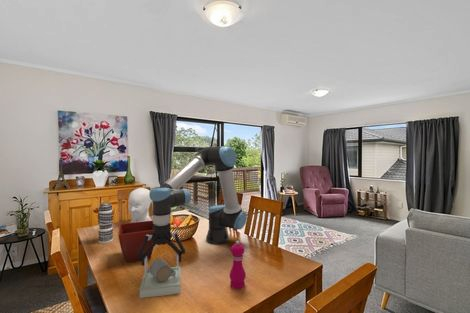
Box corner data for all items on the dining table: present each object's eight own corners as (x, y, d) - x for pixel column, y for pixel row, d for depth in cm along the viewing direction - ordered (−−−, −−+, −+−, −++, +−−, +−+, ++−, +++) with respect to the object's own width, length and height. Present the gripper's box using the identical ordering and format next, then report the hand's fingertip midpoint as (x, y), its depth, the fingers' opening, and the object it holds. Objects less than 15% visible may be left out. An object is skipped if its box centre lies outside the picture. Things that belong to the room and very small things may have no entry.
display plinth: (180, 274, 116) (180, 266, 116) (180, 293, 100) (180, 284, 100) (145, 277, 112) (145, 269, 112) (139, 298, 97) (139, 288, 97)
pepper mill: (228, 281, 110) (229, 238, 110) (244, 280, 111) (244, 237, 110) (229, 290, 103) (230, 244, 102) (246, 289, 103) (246, 243, 103)
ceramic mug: (156, 285, 100) (156, 267, 100) (149, 277, 107) (149, 260, 107) (179, 277, 107) (179, 260, 107) (171, 270, 114) (171, 254, 113)
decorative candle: (114, 241, 158) (114, 203, 158) (98, 244, 153) (98, 205, 152) (112, 237, 166) (112, 201, 165) (97, 239, 160) (97, 202, 160)
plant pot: (118, 266, 124) (118, 234, 123) (119, 252, 141) (119, 223, 141) (156, 259, 131) (156, 229, 131) (153, 247, 149) (153, 220, 148)
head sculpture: (119, 228, 184) (119, 189, 184) (136, 220, 207) (136, 185, 206) (143, 230, 181) (143, 190, 180) (157, 221, 203) (157, 186, 203)
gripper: (190, 219, 112) (190, 263, 113) (133, 222, 107) (133, 269, 107) (190, 224, 105) (190, 271, 105) (129, 227, 100) (130, 278, 100)
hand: (162, 270), depth 106 cm, fingers open, 13 cm apart
